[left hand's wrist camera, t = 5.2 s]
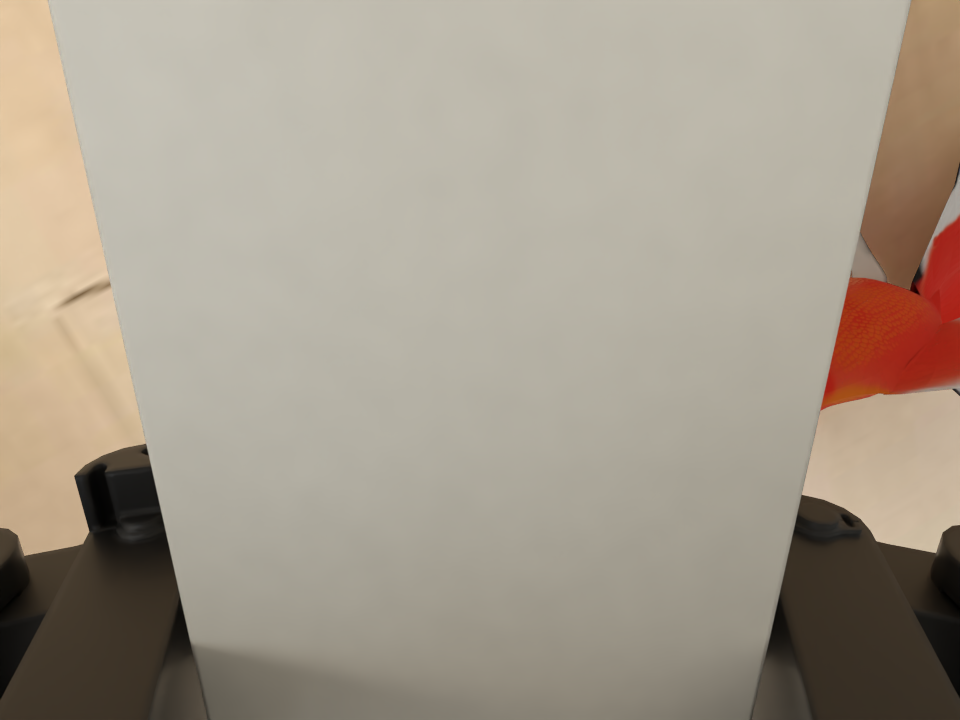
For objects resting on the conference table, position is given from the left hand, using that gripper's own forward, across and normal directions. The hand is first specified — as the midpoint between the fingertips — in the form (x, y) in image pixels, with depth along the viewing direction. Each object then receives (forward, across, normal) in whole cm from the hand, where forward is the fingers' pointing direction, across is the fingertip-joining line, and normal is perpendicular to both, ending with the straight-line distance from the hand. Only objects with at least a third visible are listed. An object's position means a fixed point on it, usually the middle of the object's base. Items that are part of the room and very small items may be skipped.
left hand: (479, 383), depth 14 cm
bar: (+1, 0, -8) cm, 9 cm away
